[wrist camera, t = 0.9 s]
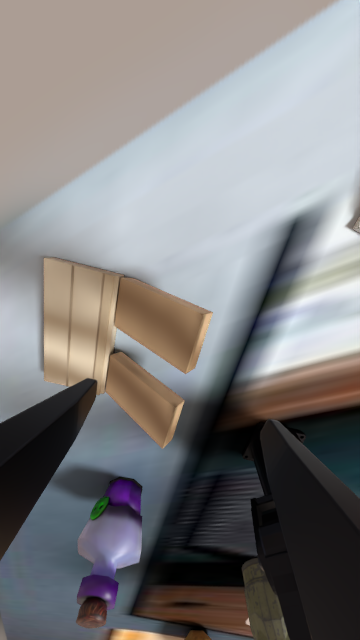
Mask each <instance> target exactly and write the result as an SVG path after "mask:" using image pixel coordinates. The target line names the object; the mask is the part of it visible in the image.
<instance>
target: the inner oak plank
mask: <svg viewBox="0 0 360 640" xmlns="http://www.w3.org/2000/svg"><path fill="white" fill-rule="evenodd" d="M105 392H106V393H107V394H108V395H109V396H110V397H111V398H112V399H113V400H114V401H115V402H116V403H117V404H118V405H119V406H120V407H121V408H122V409H123V410H124V411H125V412H126V413H127V414H128V415H129V416H130V417H131V418H132V419H133V420H134V421H135V422H136V423H137V424H138V425H139V426H140V427H141V428H142V429H143V430H144V431H145V432H146V433H147V434H148V435H149V436H150V437H151V438H152V439H153V440H154V441H155V442H156V443H157V444H158V445H159V446H160V447H161V448H162V449H163V448H164V447H165V446H166V445H167V444H168V443H169V442H170V441H171V440H172V438H173V435H174V432H175V429H176V426H177V422H178V419H179V416H180V413H181V410H182V407H183V404H184V401H185V400H184V399H182V398H181V397H180V396H179V395H177V394H176V393H175V392H173V391H172V390H171V389H169V388H168V387H167V386H165V385H164V384H163V383H162V382H160V381H159V380H158V379H156V378H155V377H154V376H152V375H151V374H150V373H148V372H147V371H146V370H145V369H143V368H142V367H141V366H139V365H138V364H137V363H135V362H134V361H133V360H132V359H130V358H129V357H128V356H126V355H125V354H124V353H122V352H119V353H115V354H112V355H110V362H109V369H108V376H107V384H106V391H105Z"/></svg>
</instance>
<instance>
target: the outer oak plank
mask: <svg viewBox="0 0 360 640" xmlns="http://www.w3.org/2000/svg"><path fill="white" fill-rule="evenodd" d="M212 314H213V312H211V311H208V310H206V309H204V308H201V307H199V306H197V305H194V304H192V303H190V302H187V301H185V300H183V299H180V298H178V297H176V296H173V295H171V294H169V293H166V292H164V291H162V290H159V289H157V288H155V287H152V286H150V285H148V284H146V283H143V282H141V281H139V280H136V279H134V278H121V281H120V288H119V295H118V303H117V310H116V317H115V325H114V326H115V327H117V328H118V329H120V330H121V331H123V332H124V333H125V334H127V335H128V336H130V337H131V338H133V339H134V340H136V341H137V342H139V343H140V344H142V345H143V346H145V347H146V348H148V349H149V350H151V351H152V352H154V353H155V354H157V355H158V356H159V357H161V358H162V359H164V360H165V361H167V362H168V363H170V364H171V365H173V366H174V367H176V368H177V369H179V370H180V371H182V372H183V373H185V374H186V373H188V372H190V371H191V370H193V369H194V368H195V366H196V363H197V360H198V357H199V354H200V351H201V348H202V345H203V342H204V338H205V335H206V332H207V329H208V326H209V323H210V320H211V317H212Z"/></svg>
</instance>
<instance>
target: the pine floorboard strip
mask: <svg viewBox="0 0 360 640" xmlns="http://www.w3.org/2000/svg"><path fill="white" fill-rule="evenodd" d="M121 278H124V275H122V274H118V273H114V272H110V271H106V270H102V269H98V268H94V267H91V266H87V265H83V264H79V263H75V262H71V261H67V260H63V259H59V258H55V257H53V258H44V381H48V382H52V383H57V384H61V385H66V386H70V387H71V386H73V385H75V384H77V383H78V382H80V381H82V380H84V379H86V378H91V379H96V380H97V382H98V384H97V393H96V394H97V395H100V393H101V394H104V393H105V391H106V384H107V376H108V369H109V362H110V355H112V354H113V351H114V344H115V337H116V330H117V327H115V326H114V325H115V317H116V310H117V303H118V295H119V288H120V281H121Z"/></svg>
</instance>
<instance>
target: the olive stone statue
mask: <svg viewBox="0 0 360 640" xmlns="http://www.w3.org/2000/svg"><path fill="white" fill-rule="evenodd" d="M242 574H243V577H244V583H245V590H244V591H245V597H246V603H247V609H248V615H249V621H250V627H251V631H252V634H253V637H254V640H290V639H289V636H288V633H287V629H286V625H285V622H284V618H283V614H282V610H281V607H280V603H279V599H278V596H277V595H275V593H274V592H273V590H272V588H271V587H270V584H269V582H268V580H267V577H266V575H265V572H264V571H263V570H262V569H261V568H260V566H259V563H258V558H254V559H251V560H249V561H247V562H245V563H244V564H243V566H242Z"/></svg>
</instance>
